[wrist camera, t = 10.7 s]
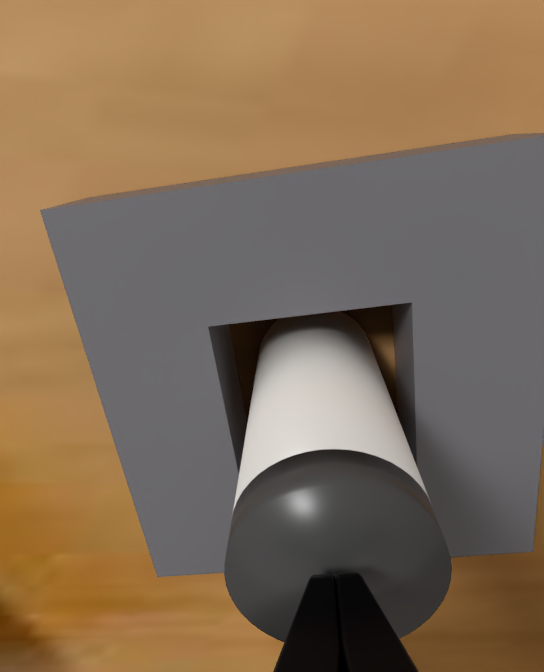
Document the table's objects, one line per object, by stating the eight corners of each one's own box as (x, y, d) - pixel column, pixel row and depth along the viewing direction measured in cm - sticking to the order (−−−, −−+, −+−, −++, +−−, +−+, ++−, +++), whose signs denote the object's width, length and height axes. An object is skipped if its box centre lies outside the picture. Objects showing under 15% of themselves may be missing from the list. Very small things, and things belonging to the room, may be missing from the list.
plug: (375, 402, 17) (452, 645, 9) (267, 414, 18) (244, 657, 9) (367, 299, 16) (451, 476, 7) (250, 314, 16) (203, 496, 8)
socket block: (496, 490, 18) (532, 551, 16) (176, 515, 20) (157, 576, 17) (513, 134, 14) (570, 131, 11) (87, 197, 15) (40, 210, 12)
